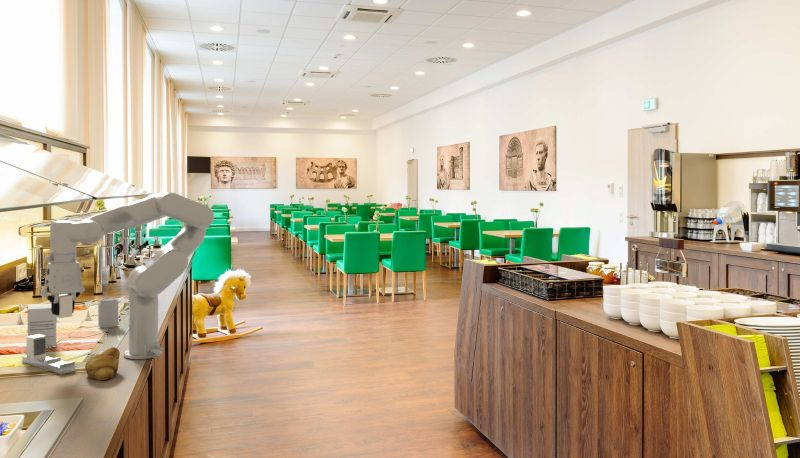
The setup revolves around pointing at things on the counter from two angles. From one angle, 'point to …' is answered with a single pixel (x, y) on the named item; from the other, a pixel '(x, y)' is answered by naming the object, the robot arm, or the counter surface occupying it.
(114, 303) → the grey upright block
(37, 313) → the supplement box
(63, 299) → the finger
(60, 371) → the rail
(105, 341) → the counter surface
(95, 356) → the bread roll
